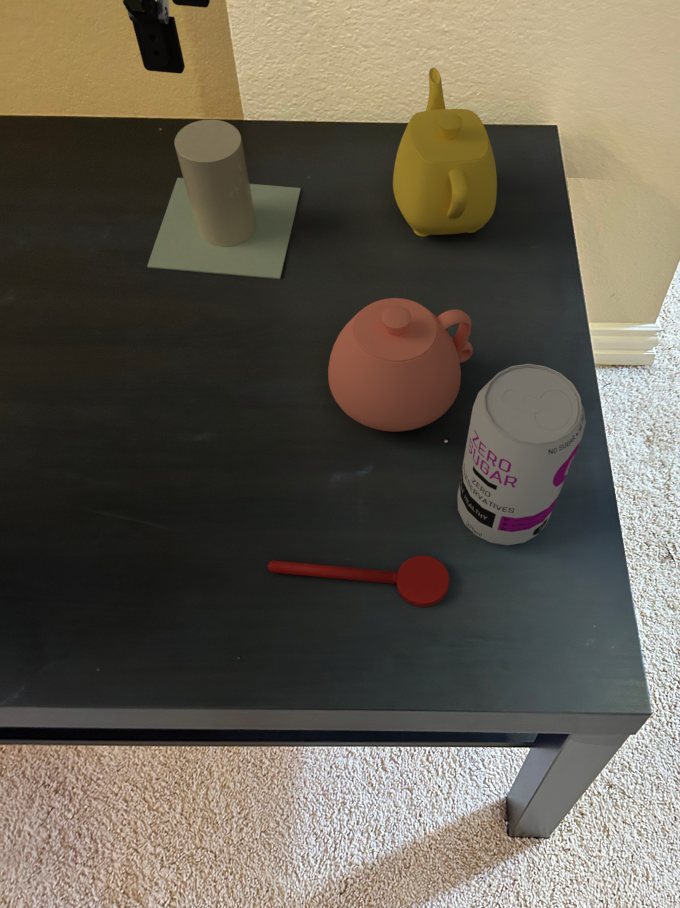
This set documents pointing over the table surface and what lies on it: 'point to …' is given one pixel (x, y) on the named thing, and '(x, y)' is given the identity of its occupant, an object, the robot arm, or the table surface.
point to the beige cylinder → (216, 181)
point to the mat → (249, 258)
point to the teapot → (445, 169)
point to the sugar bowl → (398, 364)
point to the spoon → (385, 577)
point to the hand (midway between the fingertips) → (179, 36)
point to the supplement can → (518, 452)
